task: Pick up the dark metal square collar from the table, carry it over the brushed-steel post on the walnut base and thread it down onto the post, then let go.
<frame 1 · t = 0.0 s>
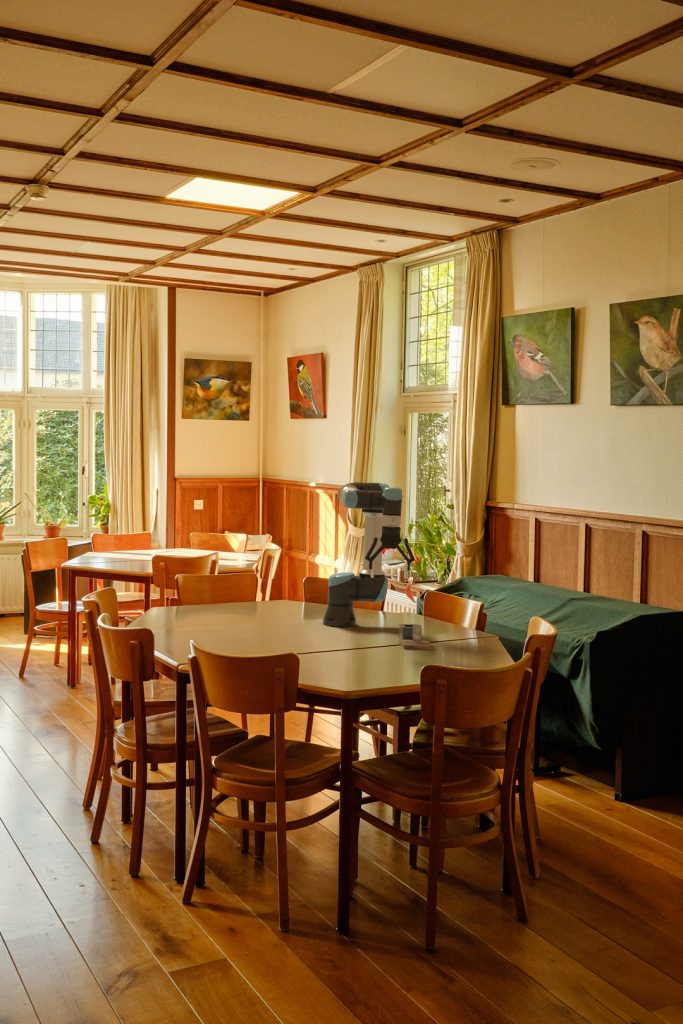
hand: (388, 578, 405), 28 cm above the table, fingers open, 13 cm apart
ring: (409, 639, 423), on the table
post block: (416, 646, 409), on the table
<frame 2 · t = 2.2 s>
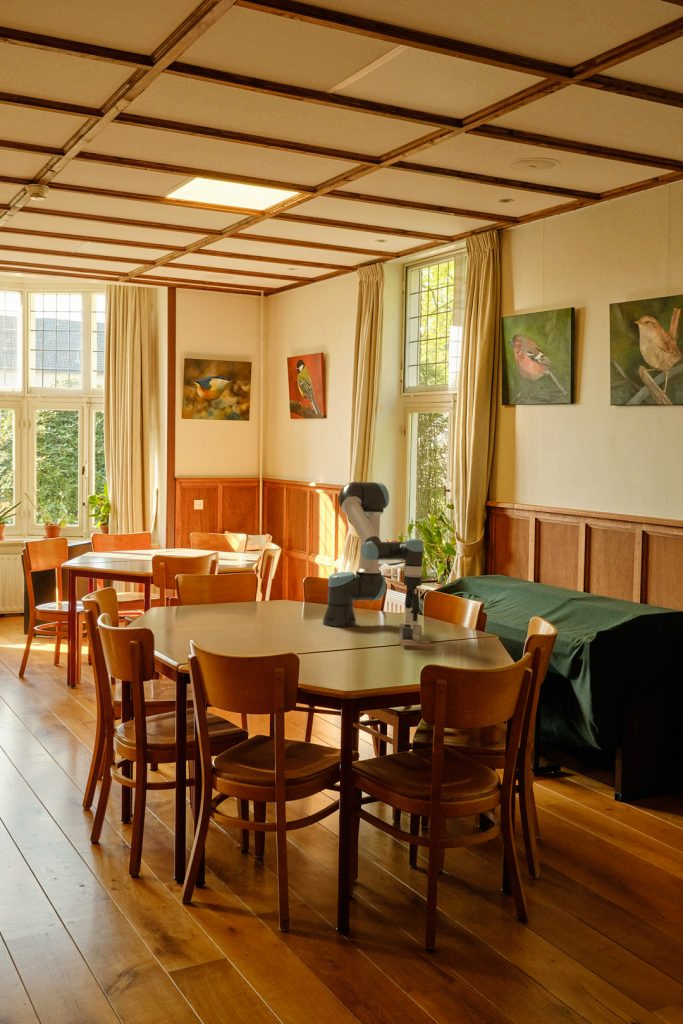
hand: (411, 626, 422), 6 cm above the table, fingers open, 13 cm apart
nothing on the table moved.
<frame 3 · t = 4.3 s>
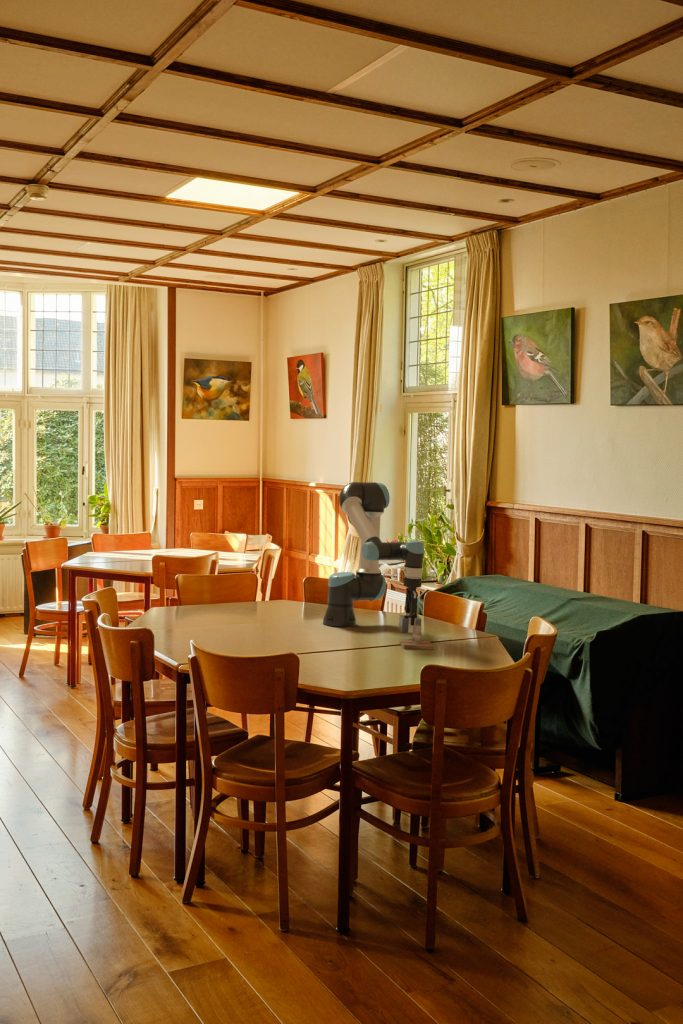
hand: (409, 630, 423), 4 cm above the table, fingers closed on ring, 8 cm apart
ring: (409, 631, 423), point 4 cm above the table, touching gripper
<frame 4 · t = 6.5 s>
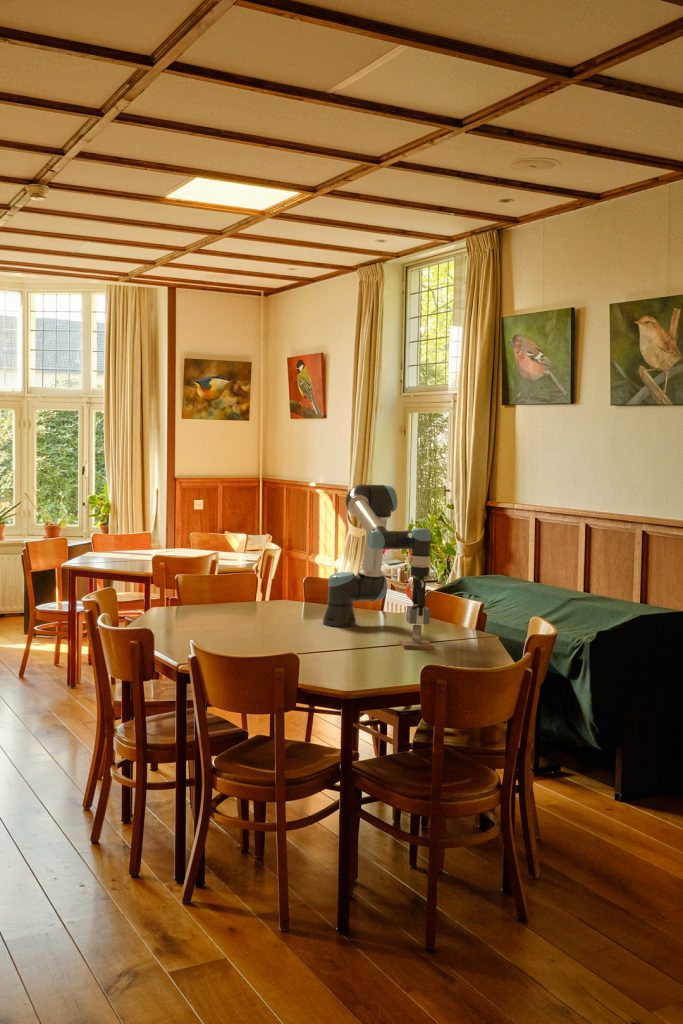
hand: (417, 621, 408), 10 cm above the table, fingers closed on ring, 8 cm apart
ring: (417, 622, 408), point 10 cm above the table, touching gripper
when the fingers open (3 cm above the table, at t = 8.8 s): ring stays where it is, resting on post block.
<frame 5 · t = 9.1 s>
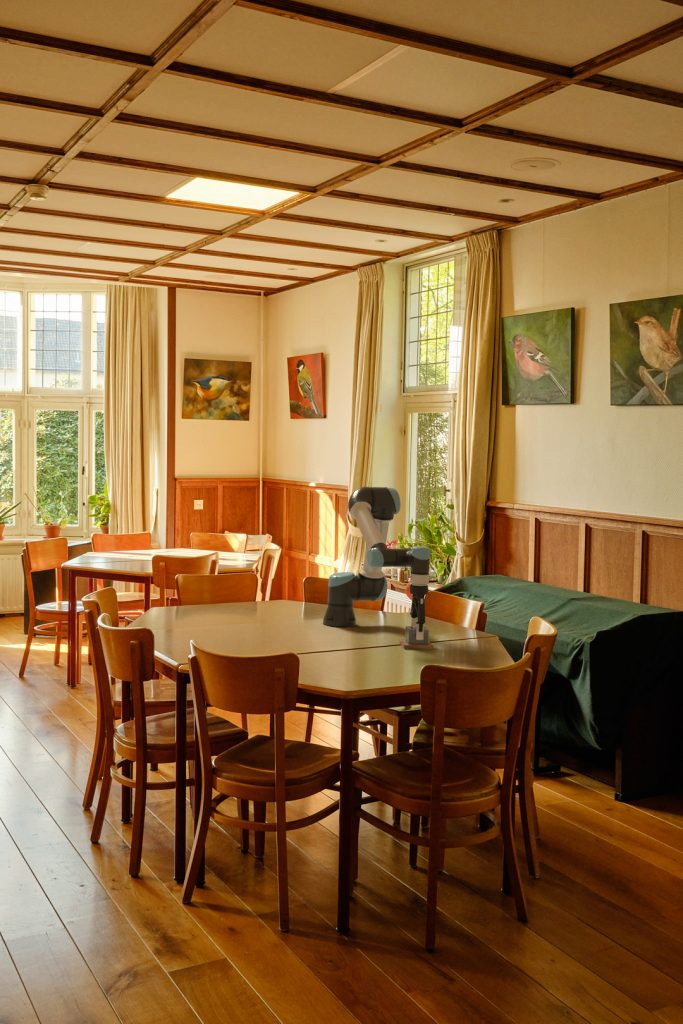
hand: (416, 636, 408), 4 cm above the table, fingers open, 12 cm apart
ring: (416, 642, 409), point 2 cm above the table, touching post block
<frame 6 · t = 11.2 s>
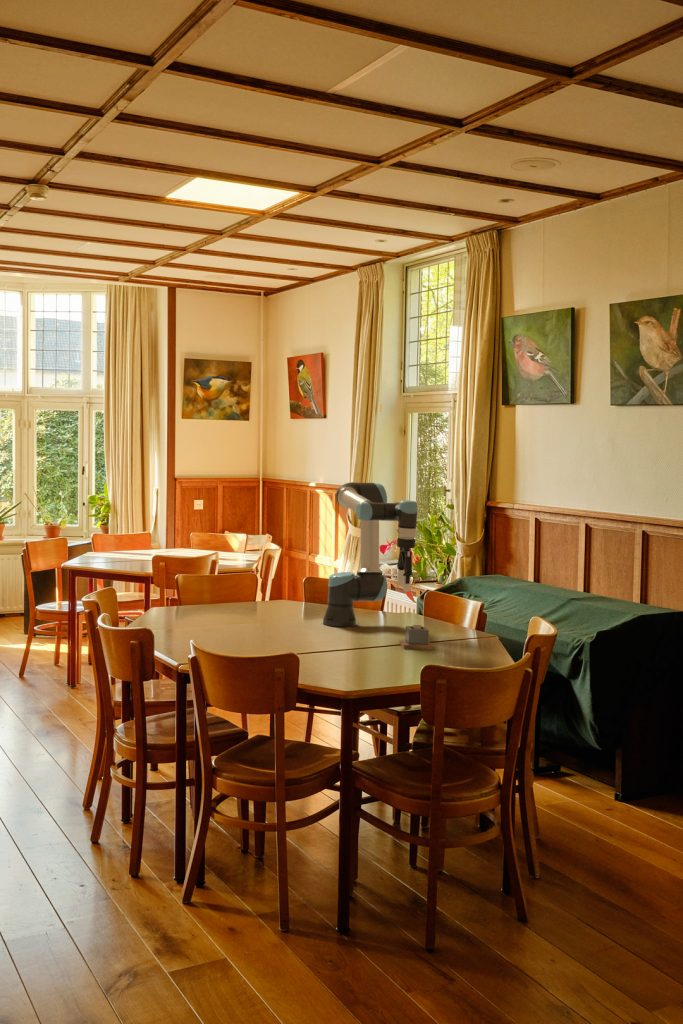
hand: (403, 588, 417), 22 cm above the table, fingers open, 13 cm apart
nothing on the table moved.
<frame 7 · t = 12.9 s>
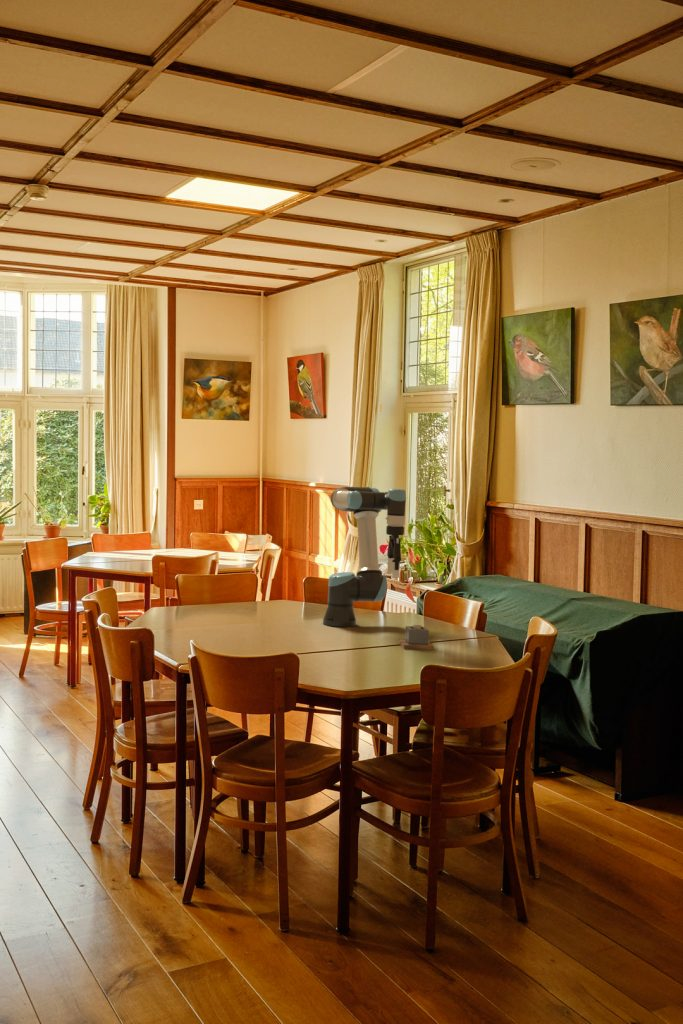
hand: (393, 575, 423), 27 cm above the table, fingers open, 13 cm apart
nothing on the table moved.
at the end: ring 0.1 cm off-centre on the post block, point 1.6 cm above the post block's base; the gripper is holding nothing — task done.
